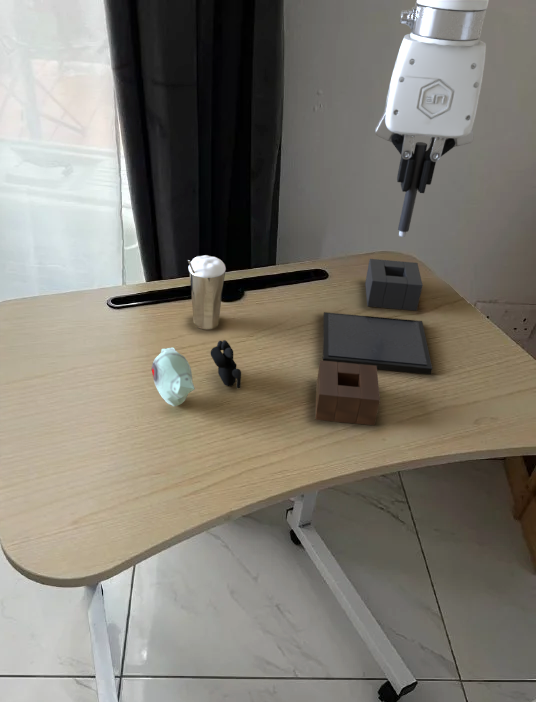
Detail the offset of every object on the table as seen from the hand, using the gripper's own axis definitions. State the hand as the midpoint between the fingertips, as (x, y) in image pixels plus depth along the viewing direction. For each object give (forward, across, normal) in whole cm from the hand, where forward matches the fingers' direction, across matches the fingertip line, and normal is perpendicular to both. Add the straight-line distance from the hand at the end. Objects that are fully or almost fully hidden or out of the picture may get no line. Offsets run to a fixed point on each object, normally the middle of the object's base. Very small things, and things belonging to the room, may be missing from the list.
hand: (412, 187), depth 84 cm
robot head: (+16, -26, -29) cm, 42 cm away
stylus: (+7, 0, 0) cm, 7 cm away
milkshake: (+16, -25, -12) cm, 32 cm away
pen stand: (+16, -7, -26) cm, 31 cm away
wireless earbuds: (+16, -21, -24) cm, 36 cm away
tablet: (+16, -3, -13) cm, 21 cm away
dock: (+16, 0, 0) cm, 16 cm away
